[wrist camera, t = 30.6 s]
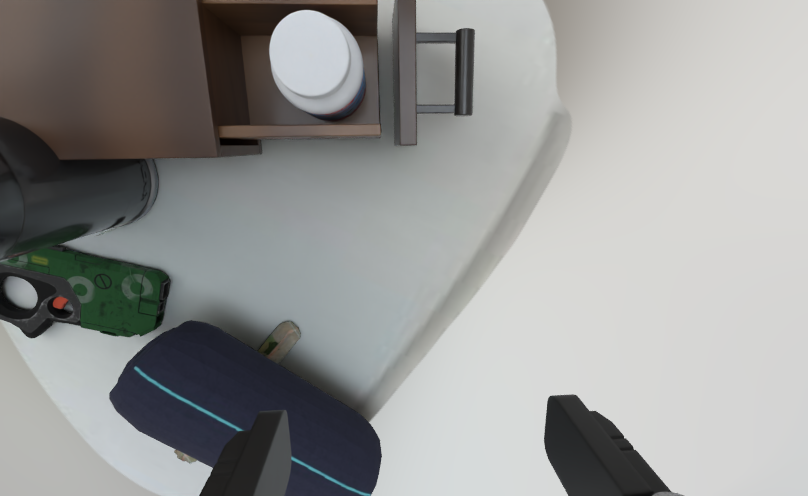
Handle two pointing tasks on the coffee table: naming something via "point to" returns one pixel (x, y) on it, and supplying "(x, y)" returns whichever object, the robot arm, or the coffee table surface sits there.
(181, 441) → the portable speaker
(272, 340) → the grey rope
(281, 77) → the pill bottle
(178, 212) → the coffee table surface
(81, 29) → the cabinet
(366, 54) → the drawer
